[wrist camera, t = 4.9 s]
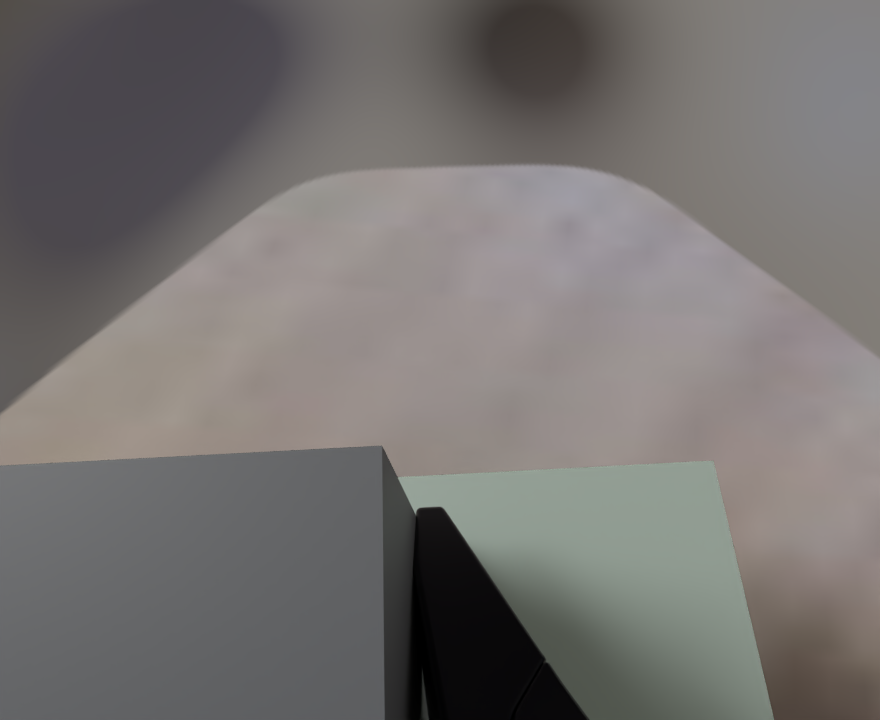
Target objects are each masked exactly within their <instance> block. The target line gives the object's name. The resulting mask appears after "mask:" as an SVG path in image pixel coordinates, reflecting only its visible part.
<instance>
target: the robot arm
mask: <svg viewBox="0 0 880 720" xmlns="http://www.w3.org/2000/svg"><path fill="white" fill-rule="evenodd" d="M413 568H414V580H415V591H416V603H417V615H418V626H419V638H420V649H421V661H422V672H423V681H424V689H425V696H426V704H427V712H428V719H429V720H590V719H589V718H588V717H587V715H586V714H585V712H584V711H583V710H582V708H581V707H580V706H579V704H578V703H577V701H576V700H575V699H574V697H573V696H572V695H571V693H570V692H569V691H568V689H567V688H566V686H565V685H564V683H563V682H562V681H561V679H560V678H559V676H558V675H557V673H556V672H555V670H554V669H553V667H552V666H551V664H550V663H548V662H546V658H545V656H544V655H543V653H542V652H541V650H540V649H539V647H538V646H537V644H536V643H535V641H534V640H533V638H532V637H531V635H530V634H529V633H528V631H527V630H526V628H525V627H524V625H523V624H522V622H521V621H520V619H519V618H518V616H517V615H516V613H515V612H514V610H513V609H512V608H511V606H510V605H509V603H508V602H507V600H506V599H505V597H504V596H503V594H502V593H501V591H500V590H499V588H498V587H497V586H496V584H495V583H494V581H493V580H492V578H491V577H490V575H489V574H488V572H487V571H486V569H485V568H484V566H483V565H482V563H481V562H480V561H479V559H478V558H477V556H476V555H475V553H474V552H473V550H472V549H471V547H470V546H469V544H468V543H467V541H466V540H465V538H464V537H463V536H462V534H461V533H460V531H459V530H458V528H457V527H456V525H455V524H454V522H453V521H452V519H451V518H450V516H449V515H448V514H447V512H446V511H445V509H444V508H442V507H421V508H418V509H417V511H416V526H415V541H414V557H413Z"/></svg>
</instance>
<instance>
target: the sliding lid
mask: <svg viewBox="0 0 880 720" xmlns="http://www.w3.org/2000/svg"><path fill="white" fill-rule="evenodd" d="M421 507H442V508H444V509H445V511H446V512H447V514H448V515H449V516H450V518H451V519H452V521H453V522H454V524H455V525H456V527H457V528H458V530H459V531H460V533H461V534H462V536H463V537H464V538H465V540H466V541H467V543H468V544H469V546H470V547H471V549H472V550H473V552H474V553H475V555H476V556H477V558H478V559H479V561H480V562H481V563H482V565H483V566H484V568H485V569H486V571H487V572H488V574H489V575H490V577H491V578H492V580H493V581H494V583H495V584H496V586H497V587H498V588H499V590H500V591H501V593H502V594H503V596H504V597H505V599H506V600H507V602H508V603H509V605H510V606H511V608H512V609H513V610H514V612H515V613H516V615H517V616H518V618H519V619H520V621H521V622H522V624H523V625H524V627H525V628H526V630H527V631H528V633H529V634H530V635H531V637H532V638H533V640H534V641H535V643H536V644H537V646H538V647H539V649H540V650H541V652H542V653H543V655H544V656H545V658H546V662H548V663H550V664H551V666H552V667H553V669H554V670H555V672H556V673H557V675H558V676H559V678H560V679H561V681H562V682H563V683H564V685H565V686H566V688H567V689H568V691H569V692H570V693H571V695H572V696H573V697H574V699H575V700H576V701H577V703H578V704H579V706H580V707H581V708H582V710H583V711H584V712H585V714H586V715H587V717H588V718H589V719H590V720H774V717H773V713H772V708H771V704H770V700H769V696H768V691H767V687H766V683H765V679H764V674H763V670H762V666H761V661H760V657H759V653H758V649H757V644H756V640H755V636H754V632H753V627H752V623H751V619H750V615H749V610H748V606H747V602H746V598H745V593H744V589H743V585H742V581H741V576H740V572H739V568H738V564H737V559H736V555H735V551H734V547H733V542H732V538H731V534H730V530H729V525H728V521H727V517H726V513H725V508H724V504H723V500H722V496H721V491H720V487H719V483H718V479H717V474H716V470H715V466H714V462H713V461H697V462H678V463H659V464H640V465H621V466H602V467H583V468H564V469H545V470H526V471H507V472H488V473H469V474H450V475H431V476H412V477H397V475H396V473H395V471H394V469H393V467H392V465H391V463H390V461H389V459H388V457H387V455H386V453H385V451H384V449H383V447H382V446H367V447H348V448H329V449H310V450H291V451H272V452H253V453H234V454H215V455H196V456H177V457H158V458H139V459H120V460H101V461H82V462H63V463H44V464H25V465H6V466H0V720H429V719H428V712H427V704H426V696H425V689H424V681H423V672H422V661H421V649H420V638H419V626H418V615H417V603H416V591H415V580H414V568H413V557H414V541H415V526H416V511H417V509H418V508H421Z"/></svg>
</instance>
